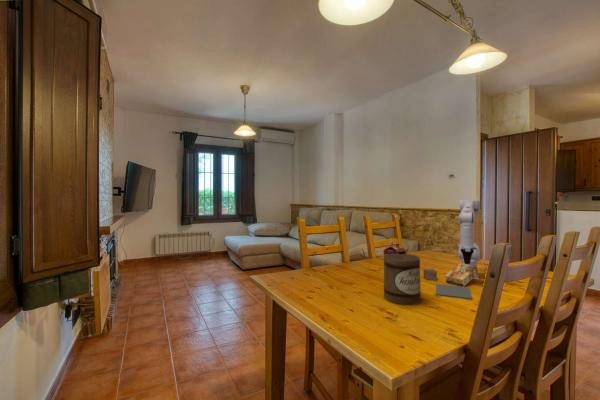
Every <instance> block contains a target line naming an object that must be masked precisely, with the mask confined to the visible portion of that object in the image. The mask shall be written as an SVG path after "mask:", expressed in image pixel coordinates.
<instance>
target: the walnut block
mask: <svg viewBox="0 0 600 400" xmlns="http://www.w3.org/2000/svg"><path fill="white" fill-rule="evenodd" d="M437 273H438V272H437V270H436V269H434V268H423V279H424V280H425V281H431V282H433V281H435V282H437V280H438V277H437V276H438V274H437Z"/></svg>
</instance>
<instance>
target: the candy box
mask: <svg viewBox="0 0 600 400" xmlns="http://www.w3.org/2000/svg"><path fill="white" fill-rule="evenodd" d="M478 269H479V268H478V265H477V266H471V265H466V264H462V262H460V263H458V264H457V265H456V266H455V267H454V268H452V269H451V270H450V271H448V273H446V274H445V275H444V277H445V282H446V283H448V284H451V285H454V286H460V287H466V285H467V284H468V283H469V282H471V281H472V280H474V279H473V278H474V277H475V276H476V275H477V276H478V274H479V271H478Z"/></svg>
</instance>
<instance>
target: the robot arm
mask: <svg viewBox="0 0 600 400" xmlns="http://www.w3.org/2000/svg"><path fill="white" fill-rule="evenodd" d="M459 209H460V213H458V222H459V227H460V228H459V231H460V233H459V238H460V239H459V241H460V242H459V244H457V247H459V248H458V259H459V260H460V261H461V264H466V265H471V266H477V267H478V262H480V260H481V247H480V246H479V245H478V244H476V243H475V223H476V222H475V221H476V218H477V216H480V213H481V199H480V198H461V199H460V200H459ZM472 280H477V281H479V280H480V278H479V275H478V274H477V275H476V276H475V277H474V278H473V279H472Z"/></svg>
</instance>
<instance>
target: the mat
mask: <svg viewBox="0 0 600 400" xmlns="http://www.w3.org/2000/svg"><path fill="white" fill-rule="evenodd" d="M435 296H440V297H448V298H455V299H462V300H463V299H464V300H471V301H473V296H472V293H471V289H470V287H468V286H464V287H462V286H458V285H453V284H451V285H450V284H441V283H436V284H435Z"/></svg>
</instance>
